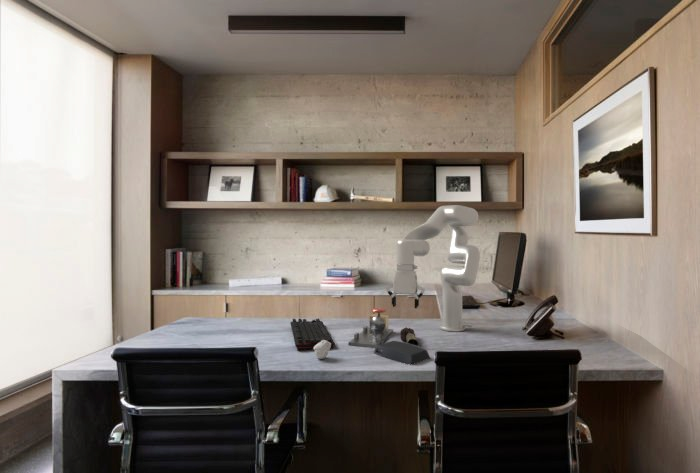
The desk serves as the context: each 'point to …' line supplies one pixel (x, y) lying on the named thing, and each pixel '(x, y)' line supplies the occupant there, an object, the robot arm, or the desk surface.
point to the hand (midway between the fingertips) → (405, 307)
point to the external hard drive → (402, 352)
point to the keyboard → (309, 334)
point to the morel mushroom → (408, 336)
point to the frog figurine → (322, 349)
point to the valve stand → (373, 331)
